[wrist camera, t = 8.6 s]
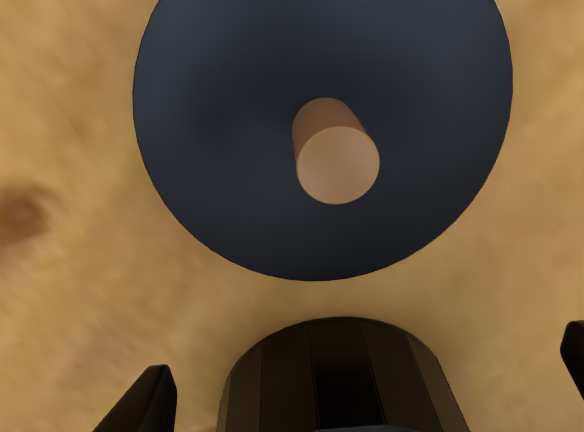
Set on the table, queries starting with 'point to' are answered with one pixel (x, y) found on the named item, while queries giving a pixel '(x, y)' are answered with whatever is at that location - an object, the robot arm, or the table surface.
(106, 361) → the table surface
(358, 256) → the lid
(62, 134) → the table surface
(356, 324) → the pot
